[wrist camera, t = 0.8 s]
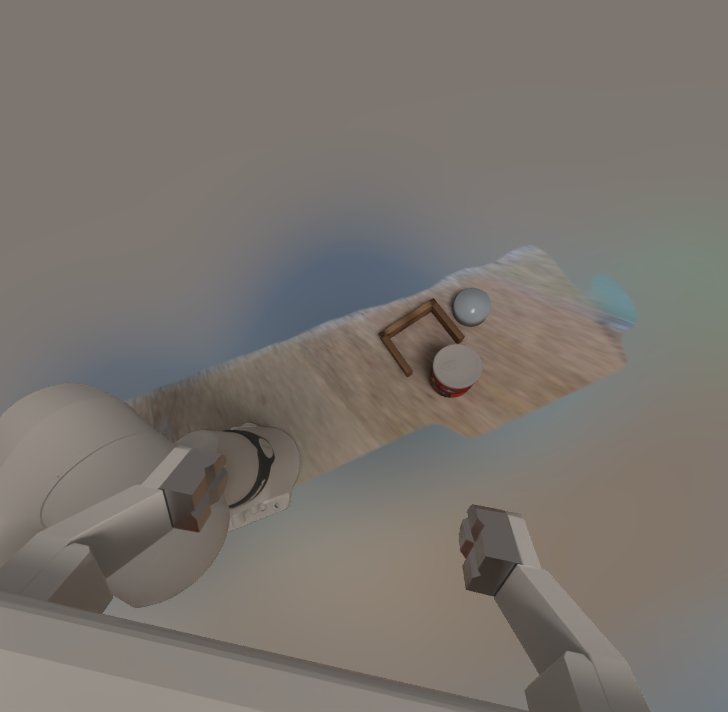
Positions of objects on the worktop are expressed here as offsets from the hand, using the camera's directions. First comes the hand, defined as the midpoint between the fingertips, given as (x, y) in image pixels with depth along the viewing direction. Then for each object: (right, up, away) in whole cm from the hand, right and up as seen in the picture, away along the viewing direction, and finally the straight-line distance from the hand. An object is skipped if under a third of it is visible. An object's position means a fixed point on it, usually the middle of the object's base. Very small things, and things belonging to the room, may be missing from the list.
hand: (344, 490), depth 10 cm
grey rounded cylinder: (+23, +14, +55) cm, 61 cm away
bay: (+13, +7, +55) cm, 57 cm away
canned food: (+18, 0, +52) cm, 55 cm away
